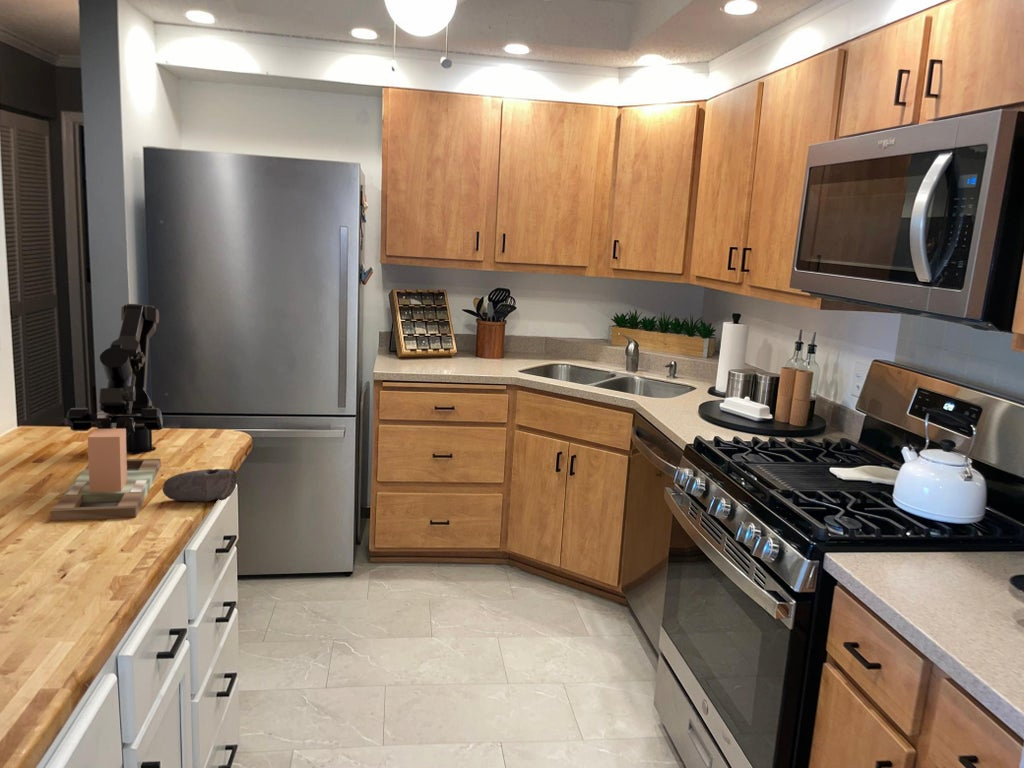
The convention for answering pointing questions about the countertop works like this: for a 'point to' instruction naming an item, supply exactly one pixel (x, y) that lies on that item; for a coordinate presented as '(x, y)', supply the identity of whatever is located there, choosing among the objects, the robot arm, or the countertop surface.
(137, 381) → the robot arm
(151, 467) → the trap board
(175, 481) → the perforated stone tool
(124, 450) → the terracotta block
